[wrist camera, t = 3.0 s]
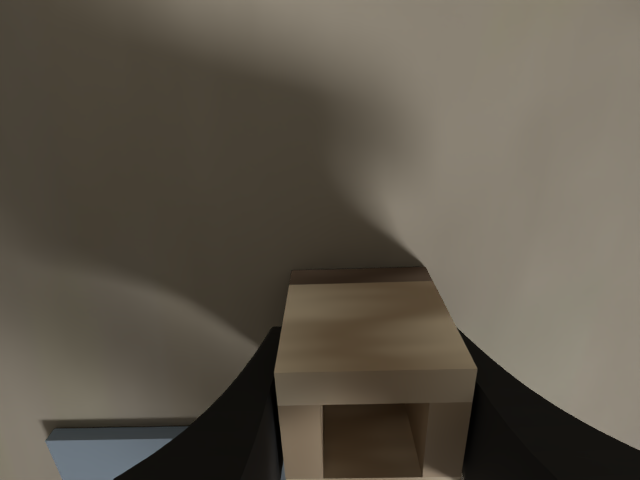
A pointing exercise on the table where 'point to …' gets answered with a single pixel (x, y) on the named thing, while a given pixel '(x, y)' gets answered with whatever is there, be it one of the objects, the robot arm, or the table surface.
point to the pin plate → (107, 449)
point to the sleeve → (371, 378)
